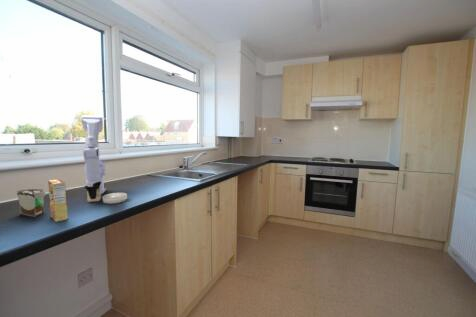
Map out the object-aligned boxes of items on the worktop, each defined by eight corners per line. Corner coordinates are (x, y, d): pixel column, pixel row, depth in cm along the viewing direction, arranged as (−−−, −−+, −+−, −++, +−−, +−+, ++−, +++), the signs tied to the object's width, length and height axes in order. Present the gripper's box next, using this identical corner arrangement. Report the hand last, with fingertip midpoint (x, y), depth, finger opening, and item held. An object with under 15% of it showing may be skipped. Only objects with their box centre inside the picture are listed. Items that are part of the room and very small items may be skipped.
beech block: (89, 199, 117) (89, 189, 116) (101, 198, 119) (100, 189, 118) (87, 201, 112) (87, 192, 112) (99, 200, 114) (98, 191, 114)
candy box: (50, 216, 93) (47, 180, 91) (63, 213, 96) (60, 178, 94) (55, 222, 87) (52, 183, 85) (68, 219, 90) (65, 182, 88)
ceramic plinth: (104, 198, 119) (104, 193, 118) (127, 196, 123) (127, 191, 122) (101, 204, 109) (100, 199, 108) (126, 202, 113) (126, 197, 112)
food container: (54, 212, 97) (52, 190, 96) (37, 217, 92) (35, 193, 90) (35, 208, 101) (33, 187, 100) (18, 213, 96) (16, 190, 94)
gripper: (98, 173, 109) (100, 200, 110) (104, 168, 122) (105, 193, 124) (81, 174, 106) (83, 202, 108) (89, 169, 119) (90, 194, 121)
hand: (94, 197), depth 115 cm, fingers closed on beech block, 5 cm apart
